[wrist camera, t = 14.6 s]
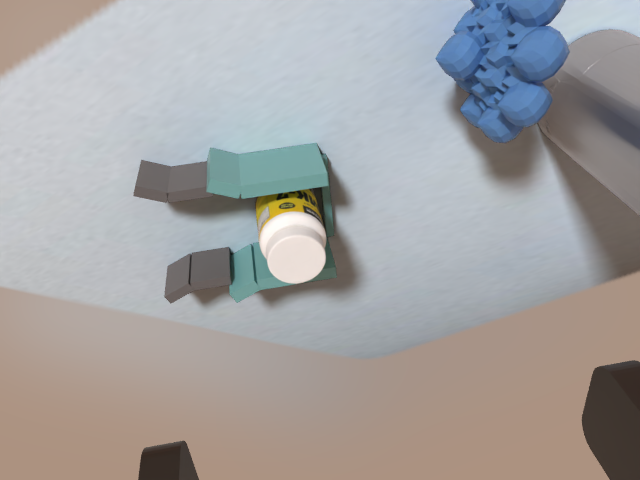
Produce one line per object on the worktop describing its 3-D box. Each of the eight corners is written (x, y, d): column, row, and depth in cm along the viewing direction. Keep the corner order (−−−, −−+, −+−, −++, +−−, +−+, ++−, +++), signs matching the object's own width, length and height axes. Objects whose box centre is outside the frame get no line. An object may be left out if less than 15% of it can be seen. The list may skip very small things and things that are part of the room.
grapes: (412, -62, 37) (484, -31, 27) (514, -68, 38) (620, -41, 28) (405, 113, 44) (461, 188, 34) (492, 104, 44) (572, 176, 35)
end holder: (323, 131, 44) (335, 160, 39) (334, 249, 50) (345, 284, 45) (204, 148, 43) (203, 179, 39) (230, 265, 49) (231, 303, 45)
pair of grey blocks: (208, 150, 43) (207, 175, 40) (232, 263, 49) (233, 293, 46) (136, 160, 43) (130, 186, 39) (169, 273, 48) (166, 304, 45)
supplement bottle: (324, 183, 46) (344, 242, 39) (301, 232, 48) (316, 296, 41) (266, 165, 44) (277, 222, 37) (245, 216, 47) (251, 279, 40)
